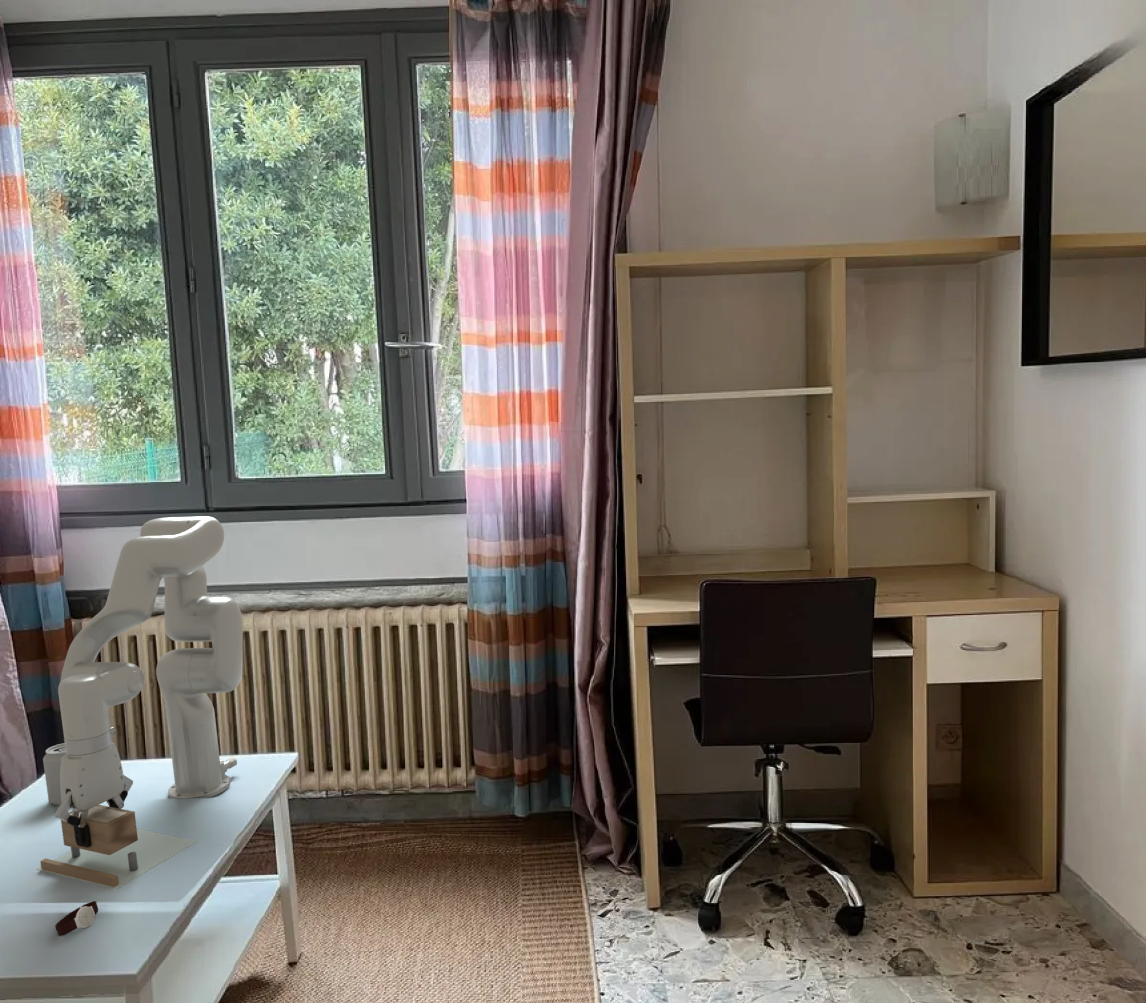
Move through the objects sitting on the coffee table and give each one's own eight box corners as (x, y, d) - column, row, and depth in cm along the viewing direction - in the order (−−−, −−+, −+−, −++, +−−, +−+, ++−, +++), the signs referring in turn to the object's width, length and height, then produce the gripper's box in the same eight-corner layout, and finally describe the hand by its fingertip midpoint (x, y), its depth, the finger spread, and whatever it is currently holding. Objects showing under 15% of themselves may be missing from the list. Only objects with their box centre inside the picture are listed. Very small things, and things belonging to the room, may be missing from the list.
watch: (71, 941, 153) (69, 920, 152) (47, 938, 154) (44, 917, 153) (107, 914, 160) (104, 894, 160) (83, 912, 161) (81, 891, 161)
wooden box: (92, 830, 180) (89, 802, 179) (137, 840, 175) (134, 811, 174) (64, 845, 174) (60, 816, 174) (109, 855, 169) (106, 825, 169)
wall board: (120, 831, 191) (117, 811, 190) (197, 847, 182) (195, 826, 181) (37, 875, 175) (34, 853, 174) (117, 895, 166) (114, 872, 165)
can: (80, 789, 213) (74, 738, 211) (93, 798, 207) (86, 745, 206) (44, 801, 207) (37, 748, 206) (55, 811, 202) (48, 756, 201)
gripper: (114, 724, 182) (125, 814, 184) (30, 758, 166) (43, 856, 168) (143, 728, 178) (153, 820, 181) (59, 763, 163) (72, 863, 165)
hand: (100, 836), depth 174 cm, fingers closed on wooden box, 6 cm apart
